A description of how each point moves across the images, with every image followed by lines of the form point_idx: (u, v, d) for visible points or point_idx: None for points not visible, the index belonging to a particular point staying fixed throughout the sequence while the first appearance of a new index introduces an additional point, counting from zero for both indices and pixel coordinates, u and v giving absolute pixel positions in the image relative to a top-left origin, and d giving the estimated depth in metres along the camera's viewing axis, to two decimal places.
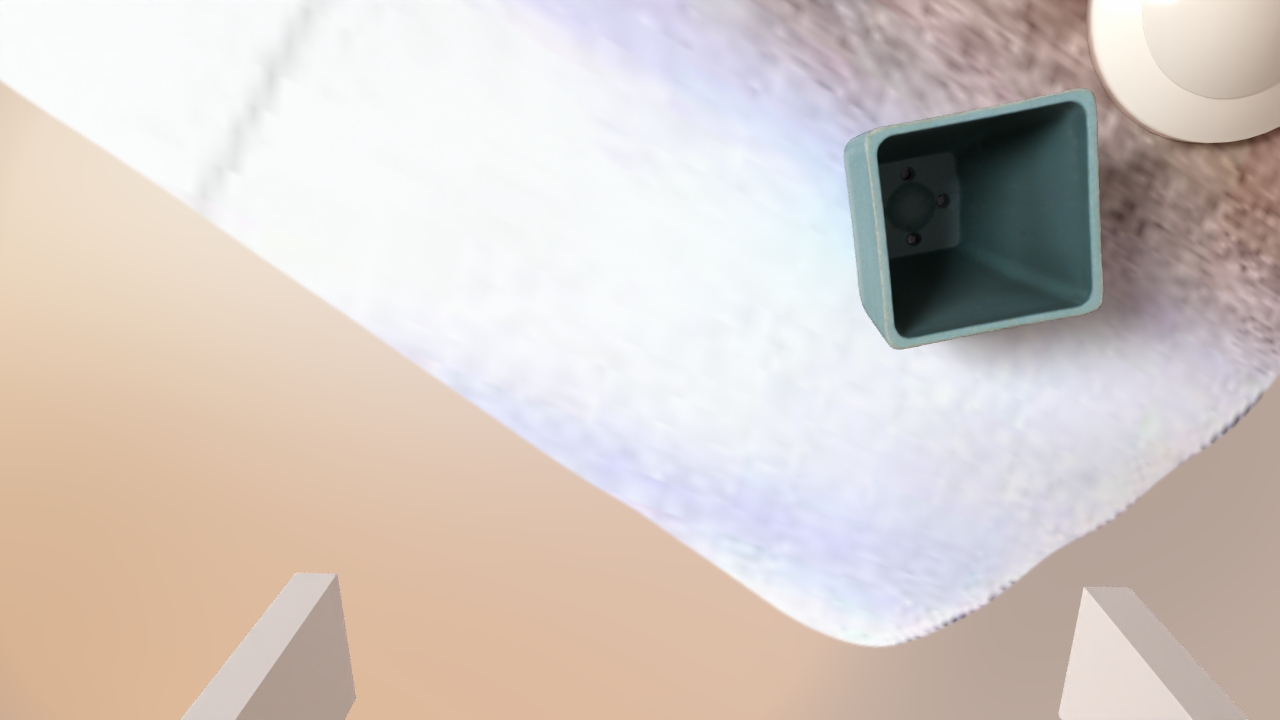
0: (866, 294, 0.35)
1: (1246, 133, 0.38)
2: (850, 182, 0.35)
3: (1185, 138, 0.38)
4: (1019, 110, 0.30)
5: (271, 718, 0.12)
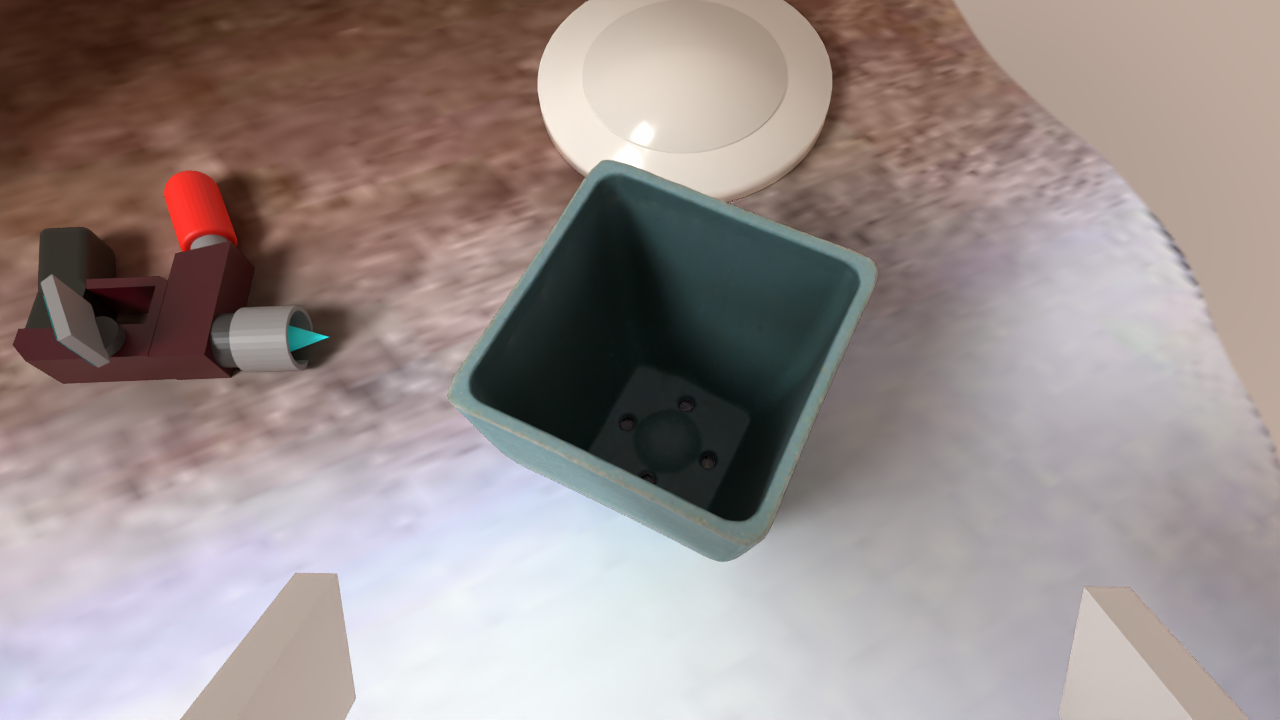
0: (691, 541, 0.22)
1: (819, 114, 0.34)
2: (543, 473, 0.24)
3: (786, 160, 0.33)
4: (564, 231, 0.22)
5: (271, 718, 0.12)
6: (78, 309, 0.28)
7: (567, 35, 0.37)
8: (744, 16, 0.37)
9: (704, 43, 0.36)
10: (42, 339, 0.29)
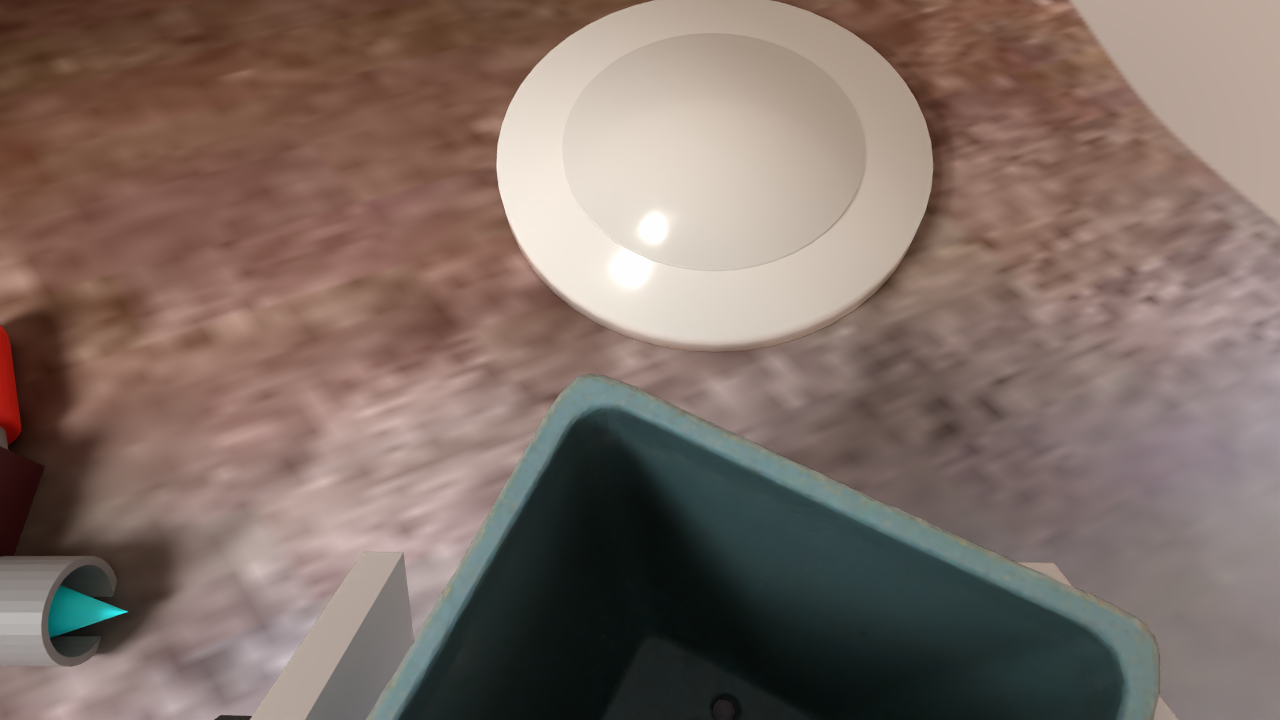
0: None
1: (916, 209, 0.23)
2: None
3: (870, 283, 0.22)
4: (500, 541, 0.11)
5: (353, 685, 0.12)
6: None
7: (542, 85, 0.25)
8: (798, 58, 0.25)
9: (741, 98, 0.25)
10: None
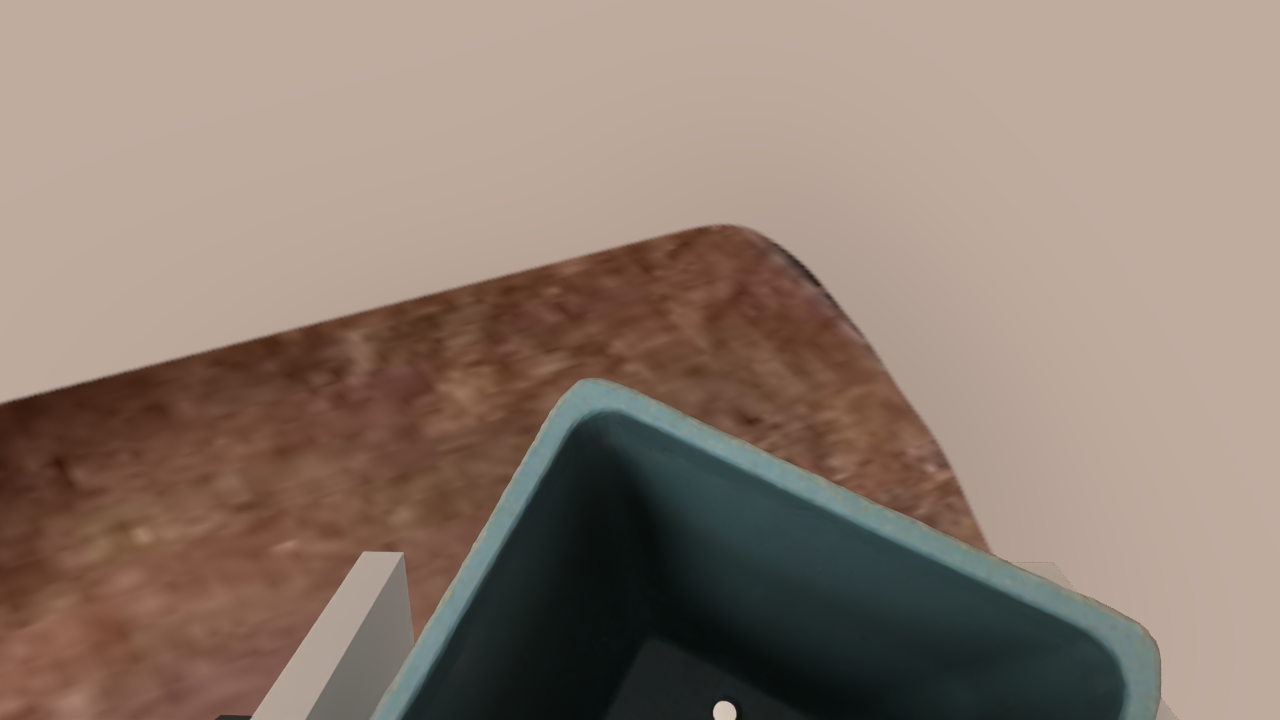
0: None
1: None
2: None
3: None
4: (501, 544, 0.11)
5: (353, 685, 0.12)
6: None
7: None
8: None
9: None
10: None
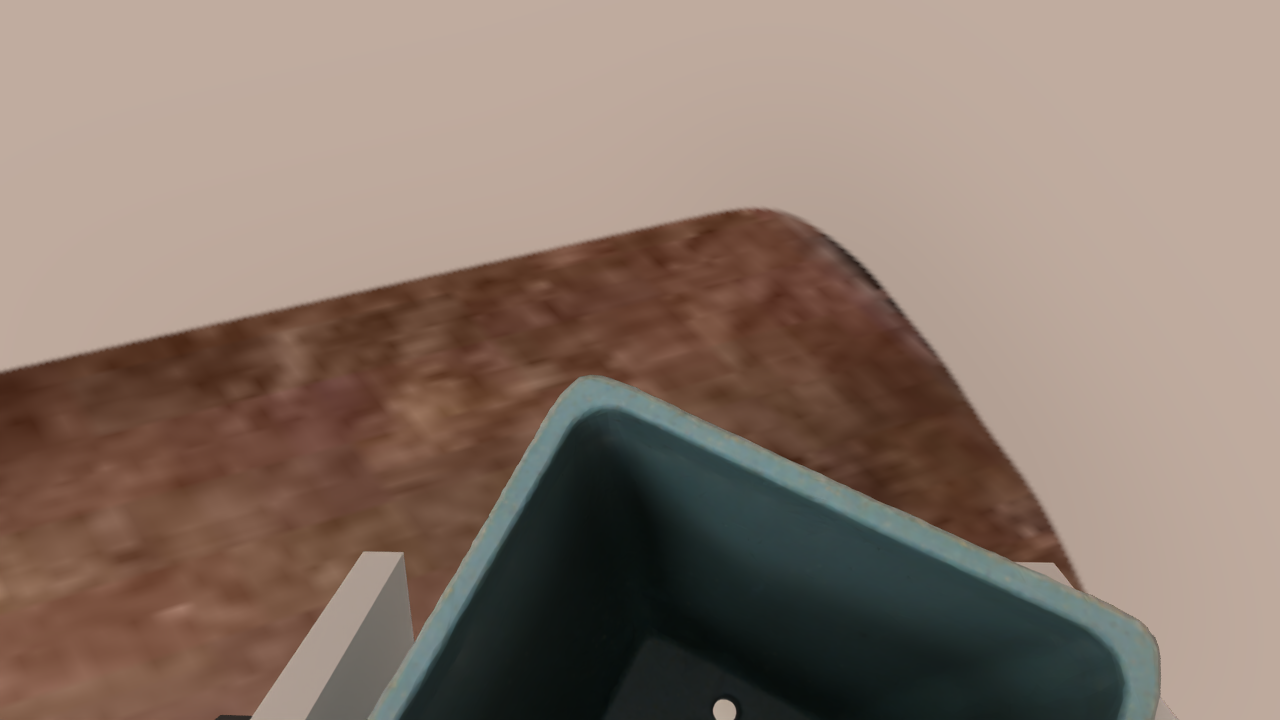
0: None
1: None
2: None
3: None
4: (501, 541, 0.11)
5: (353, 685, 0.12)
6: None
7: None
8: None
9: None
10: None
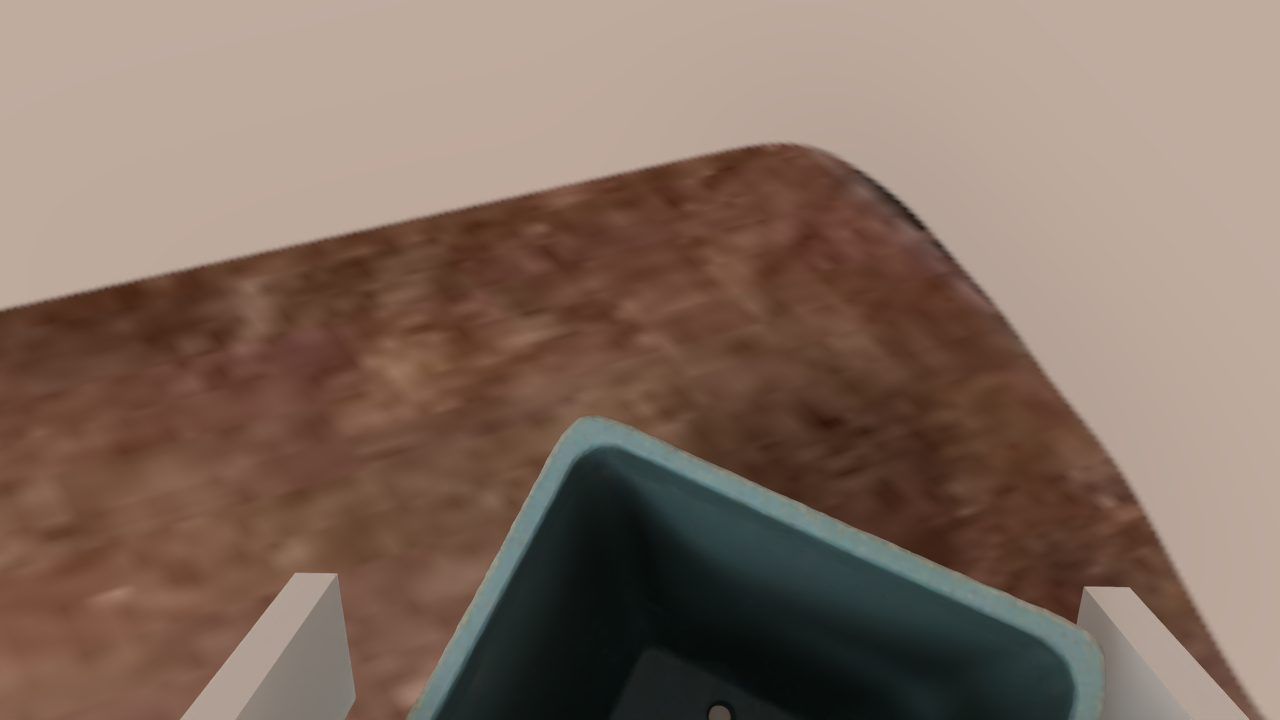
0: None
1: None
2: None
3: None
4: (512, 572, 0.12)
5: (271, 718, 0.12)
6: None
7: None
8: None
9: None
10: None
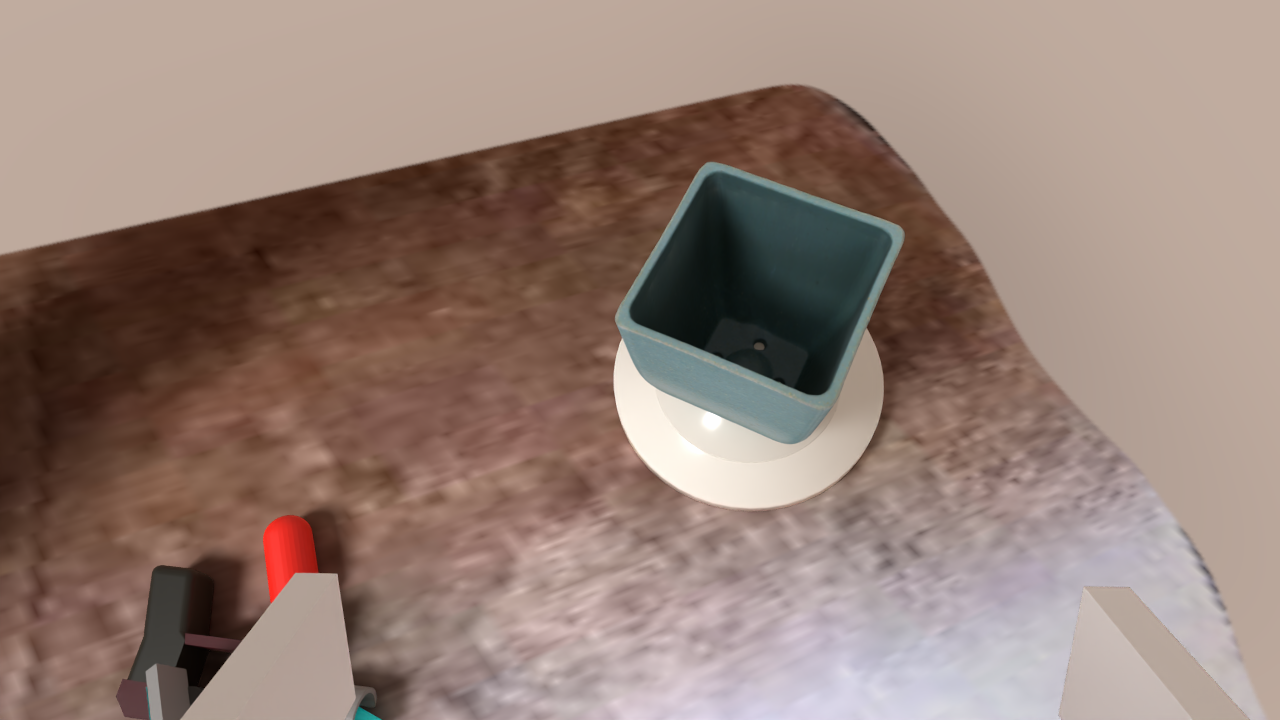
0: (778, 423, 0.32)
1: (871, 422, 0.37)
2: (668, 383, 0.33)
3: (843, 472, 0.36)
4: (684, 211, 0.32)
5: (271, 718, 0.12)
6: (174, 690, 0.31)
7: None
8: None
9: None
10: (141, 694, 0.33)
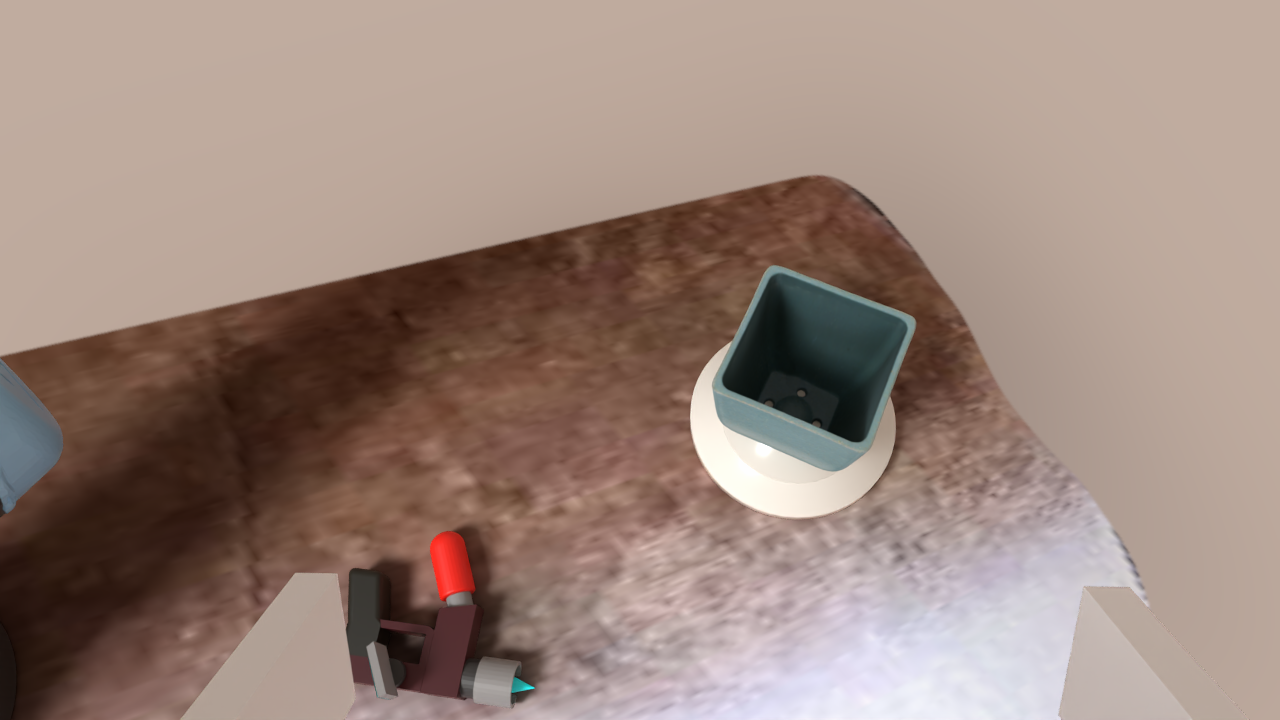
0: (825, 458, 0.44)
1: (887, 452, 0.50)
2: (743, 427, 0.46)
3: (866, 490, 0.49)
4: (757, 304, 0.45)
5: (271, 718, 0.12)
6: (384, 661, 0.43)
7: (708, 380, 0.52)
8: None
9: None
10: (352, 664, 0.45)
